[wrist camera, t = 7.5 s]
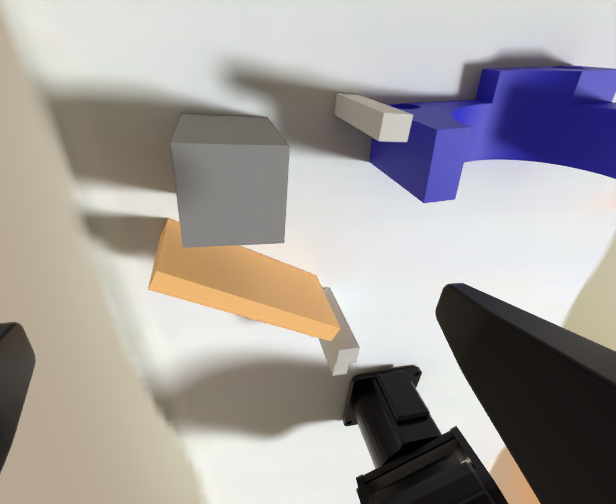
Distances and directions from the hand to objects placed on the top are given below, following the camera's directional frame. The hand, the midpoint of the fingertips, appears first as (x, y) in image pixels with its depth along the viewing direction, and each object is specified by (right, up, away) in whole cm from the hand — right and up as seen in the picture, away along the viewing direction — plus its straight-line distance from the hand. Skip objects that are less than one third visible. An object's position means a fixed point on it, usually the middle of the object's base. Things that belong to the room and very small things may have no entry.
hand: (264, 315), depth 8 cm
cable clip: (+10, +9, +12) cm, 18 cm away
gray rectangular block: (-3, +6, +10) cm, 12 cm away
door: (-3, +1, +13) cm, 13 cm away
